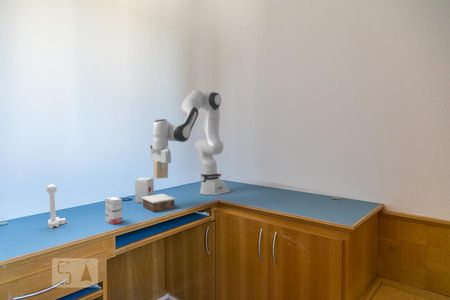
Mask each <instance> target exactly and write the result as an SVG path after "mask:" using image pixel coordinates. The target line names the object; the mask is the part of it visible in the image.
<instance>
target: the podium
mask: <svg viewBox="0 0 450 300" xmlns="http://www.w3.org/2000/svg"><path fill="white" fill-rule="evenodd" d="M142 199H143V203H142V208H145V209H147V211H151V212H153V213H158V212H163V211H167V210H173V209H175V200H176V197H174V196H171V195H167V194H165V193H158V194H154V195H152V196H145V197H142Z"/></svg>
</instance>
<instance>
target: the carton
mask: <svg viewBox="0 0 450 300" xmlns="http://www.w3.org/2000/svg"><path fill="white" fill-rule="evenodd" d="M161 167H162V163H160V161H153V179H166V178H169V163H166V166H165V170H161Z"/></svg>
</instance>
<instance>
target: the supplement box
mask: <svg viewBox="0 0 450 300" xmlns="http://www.w3.org/2000/svg"><path fill="white" fill-rule="evenodd" d="M154 186H155V184H154V177H138V178H135V179H134V191H135V192H134V196H135V197H134V199H135V203H137V204H138V203H140V204H143V199H142V197H145V196H152V195H155V188H154Z"/></svg>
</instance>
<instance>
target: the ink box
mask: <svg viewBox="0 0 450 300" xmlns="http://www.w3.org/2000/svg"><path fill="white" fill-rule="evenodd" d="M104 200H105V202H104V203H105V204H104V205H105V206H104V208H105V222H106V223H110V224H112V225H116V224H120V223H123V201H122V200H123V199H122V198H119V197H116V196H110V197H106V198H105V199H104Z"/></svg>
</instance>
